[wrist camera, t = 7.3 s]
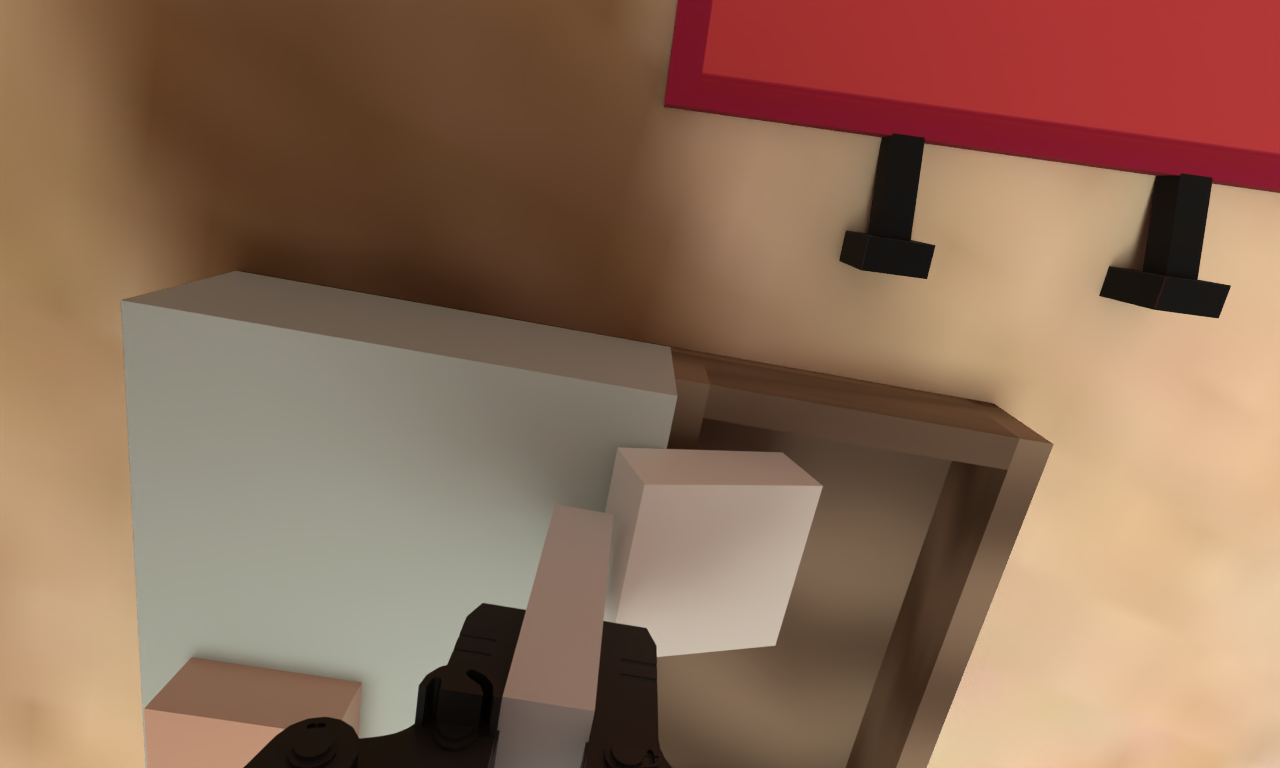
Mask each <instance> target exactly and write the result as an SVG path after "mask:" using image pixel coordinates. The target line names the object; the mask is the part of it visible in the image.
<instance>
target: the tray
mask: <svg viewBox="0 0 1280 768" xmlns="http://www.w3.org/2000/svg"><path fill="white" fill-rule="evenodd" d="M670 348H671V354H672V361H673V368H674V375H675V382H676V389H677V401H676V406H675V411H674V416H673V420H672V425H671V430H670V435H669V440H668V445H667V449H685V450H718V451H751V452H783V453H784V454H785V455H786V456H787V457H789V458H790V459H791V460H792V461H793V462H795V463H796V464H797V465H798V466H799V467H801V468H802V469H803V470H804V471H805V472H807V473H808V474H809V475H810V476H812V477H813V478H814V479H815V480H816V481H818V482H819V483H820V484H821V485H822V486H823V487H822V491H821V494H820V497H819V501H818V504H817V507H816V511H815V514H814V517H813V521H812V524H811V528H810V531H809V534H808V538H807V541H806V544H805V548H804V551H803V554H802V558H801V561H800V564H799V568H798V571H797V575H796V578H795V581H794V585H793V588H792V591H791V595H790V598H789V601H788V605H787V608H786V611H785V615H784V618H783V622H782V625H781V628H780V632H779V635H778V638H777V642H776V645H775V646H766V647H756V648H746V649H736V650H725V651H715V652H705V653H694V654H684V655H674V656H664V657H657V691H658V738H659V744H660V749H661V751H662V752H663V755H664V758H665V759H666V760H667V762H668V763H669V764H670V765H671V767H672V768H926V767H927V765H928V762H929V760H930V757H931V755H932V752H933V750H934V747H935V744H936V742H937V739H938V737H939V734H940V732H941V729H942V727H943V724H944V722H945V719H946V716H947V714H948V711H949V709H950V706H951V704H952V701H953V699H954V696H955V694H956V691H957V688H958V686H959V683H960V681H961V678H962V676H963V673H964V671H965V668H966V666H967V663H968V660H969V658H970V655H971V653H972V650H973V648H974V645H975V643H976V640H977V638H978V635H979V632H980V630H981V627H982V625H983V622H984V620H985V617H986V615H987V612H988V610H989V607H990V604H991V602H992V599H993V597H994V594H995V592H996V589H997V587H998V584H999V582H1000V579H1001V576H1002V574H1003V571H1004V569H1005V566H1006V564H1007V561H1008V559H1009V556H1010V554H1011V551H1012V548H1013V546H1014V543H1015V541H1016V538H1017V536H1018V533H1019V531H1020V528H1021V526H1022V523H1023V520H1024V518H1025V515H1026V513H1027V510H1028V508H1029V505H1030V503H1031V500H1032V498H1033V495H1034V492H1035V490H1036V487H1037V485H1038V482H1039V480H1040V477H1041V475H1042V472H1043V470H1044V467H1045V464H1046V462H1047V459H1048V457H1049V454H1050V452H1051V449H1052V447H1053V444H1052V443H1051V442H1049V441H1048V440H1046V439H1045V438H1043V437H1042V436H1040V435H1039V434H1037V433H1036V432H1035V431H1033V430H1032V429H1030V428H1029V427H1027V426H1026V425H1024V424H1023V423H1021V422H1020V421H1018V420H1017V419H1015V418H1014V417H1012V416H1011V415H1010V414H1008V413H1007V412H1005V411H1004V410H1002V409H1001V408H999V407H998V406H996V405H995V404H992V403H987V402H981V401H975V400H970V399H964V398H958V397H953V396H947V395H941V394H935V393H930V392H924V391H918V390H913V389H907V388H901V387H896V386H890V385H884V384H878V383H873V382H867V381H861V380H856V379H850V378H844V377H839V376H833V375H827V374H822V373H816V372H810V371H804V370H799V369H793V368H787V367H782V366H776V365H770V364H765V363H759V362H753V361H747V360H742V359H736V358H730V357H725V356H719V355H713V354H708V353H702V352H696V351H690V350H685V349H679V348H673V347H670Z"/></svg>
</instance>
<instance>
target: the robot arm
mask: <svg viewBox="0 0 1280 768" xmlns="http://www.w3.org/2000/svg"><path fill="white" fill-rule="evenodd" d="M613 516H614V514H609V513H603V512H598V511H592V510H586V509H580V508H574V507H568V506H563V505H557V504H555V507H554V511H553V514H552V518H551V521H550V525H549V529H548V532H547V536H546V540H545V543H544V547H543V551H542V554H541V558H540V562H539V565H538V569H537V573H536V576H535V580H534V583H533V587H532V591H531V594H530V598H529V602H528V605H527V609H526V610H524V609H518V608H512V607H505V606H499V605H493V604H487V603H482V604H481V605H479V606H478V607H477V608H476V609H475V610H474V611H472V612H471V613H470V614H469V615H468V616H467V617H466V619H465V622H464V624H463V627H462V629H461V632H460V635H459V638H458V639H457V642H456V644H455V647H454V650H453V652H452V654H451V657H450V659H449V662H448V664H447V665H445V666H441V667H438V668H437V669H435V670H434V671H432V672H430V673H429V674H427V675H426V676H425V678H424V679H423V680H422V682H421V683H420V684H419V688H418V697H417V707H416V716H415V724H413V725H412V726H410V727H409V728H407V729H404V730H402V731H399V732H397V733H394V734H389V735H384V736H377V737H369V738H360V739H359V737H358V735H357V733H356V732H355V730H354V728H353V727H352V726H350V725H349V724H347V723H346V722H344V721H343V720H340V719H335V718H330V717H317V718H308V719H305V720H303V721H300V722H297V723H295V724H292V725H290V726H288V727H287V728H286V729H284V730H283V731H282V732H280V733H279V734H277V735H276V736H275V737H274V738H273V739H272V740H271V741H270V742H269V743H268V744H267V745H266V746H265V747H264V748H263V749H262V750H261V751H260V752H259V753H258V754H257V755H256V756H255V757H254V758H253V759H252V760H251V761H250V762H249V763H248V764H247V765H246V766H245V767H244V768H672V767H671V765H670V764H669V763H668V762H667V760H666V759H665V758H664V755H663V752H662V751H661V749H660V744H659V738H658V691H657V646H656V644H655V642H654V640H653V638H652V637H651V635H650V633H649V631H648V630H647V628H643V627H637V626H631V625H625V624H619V623H613V622H607V621H603V620H604V610H605V599H606V589H607V578H608V568H609V557H610V547H611V537H612V526H613Z"/></svg>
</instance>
